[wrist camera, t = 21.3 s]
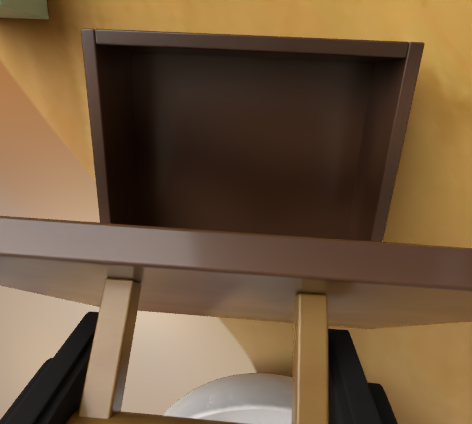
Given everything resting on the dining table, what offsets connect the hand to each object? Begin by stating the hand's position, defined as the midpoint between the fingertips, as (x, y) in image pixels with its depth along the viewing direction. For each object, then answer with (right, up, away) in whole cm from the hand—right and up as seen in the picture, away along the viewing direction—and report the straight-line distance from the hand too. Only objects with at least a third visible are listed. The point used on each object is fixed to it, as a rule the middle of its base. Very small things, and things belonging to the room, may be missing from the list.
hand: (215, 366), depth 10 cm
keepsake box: (+1, +8, +15) cm, 17 cm away
